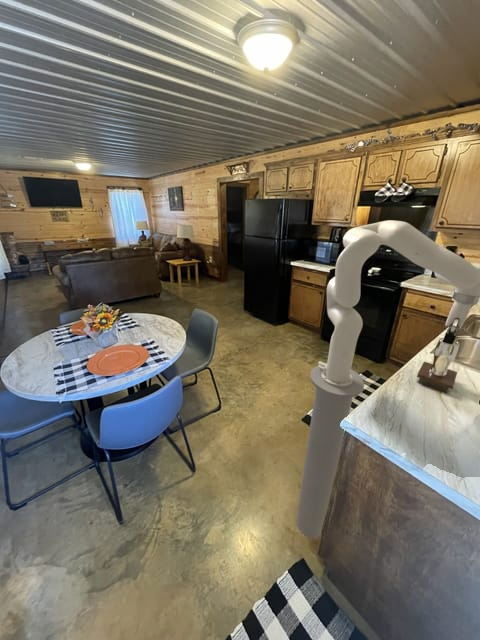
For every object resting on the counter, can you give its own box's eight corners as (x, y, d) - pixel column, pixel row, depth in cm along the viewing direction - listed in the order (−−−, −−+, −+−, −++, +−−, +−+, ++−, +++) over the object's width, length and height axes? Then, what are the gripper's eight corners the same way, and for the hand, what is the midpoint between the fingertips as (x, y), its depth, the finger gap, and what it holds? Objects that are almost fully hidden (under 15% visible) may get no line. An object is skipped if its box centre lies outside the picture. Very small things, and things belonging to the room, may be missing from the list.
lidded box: (414, 382, 111) (417, 373, 109) (421, 369, 119) (424, 361, 118) (449, 395, 103) (453, 386, 101) (453, 380, 112) (457, 372, 110)
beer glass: (445, 380, 105) (458, 347, 99) (425, 372, 110) (436, 341, 104) (449, 373, 109) (462, 341, 103) (430, 366, 114) (441, 335, 108)
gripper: (455, 290, 104) (441, 329, 111) (449, 300, 92) (434, 343, 99) (480, 294, 100) (463, 334, 107) (477, 306, 88) (458, 350, 95)
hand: (449, 338), depth 103 cm, fingers open, 9 cm apart
